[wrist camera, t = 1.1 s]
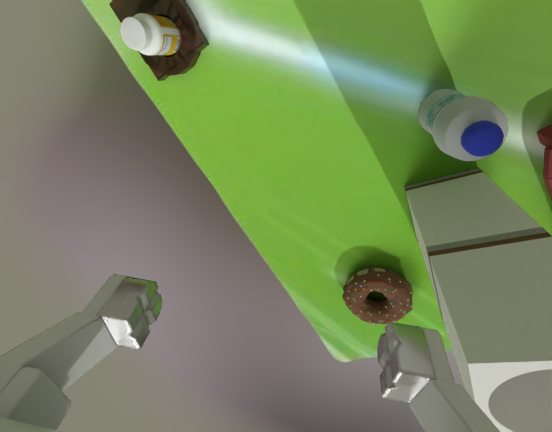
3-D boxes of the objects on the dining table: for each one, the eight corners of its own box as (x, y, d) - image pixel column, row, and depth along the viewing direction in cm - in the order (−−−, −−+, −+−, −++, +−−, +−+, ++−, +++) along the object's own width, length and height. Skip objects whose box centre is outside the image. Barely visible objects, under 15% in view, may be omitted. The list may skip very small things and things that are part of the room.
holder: (115, 6, 49) (108, 4, 48) (162, -43, 44) (155, -46, 43) (167, 87, 54) (161, 88, 52) (214, 50, 49) (209, 50, 47)
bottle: (405, 119, 47) (433, 156, 30) (433, 77, 44) (483, 92, 26) (442, 138, 47) (491, 186, 30) (473, 98, 44) (549, 126, 26)
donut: (364, 318, 69) (364, 336, 64) (332, 277, 65) (330, 292, 61) (425, 299, 62) (430, 317, 58) (393, 252, 59) (396, 267, 54)
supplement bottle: (150, 22, 49) (108, 16, 41) (178, 13, 47) (140, 5, 39) (162, 58, 51) (125, 59, 43) (189, 51, 50) (155, 50, 42)
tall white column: (415, 236, 56) (482, 443, 26) (404, 186, 52) (467, 363, 22) (485, 222, 52) (660, 452, 22) (478, 167, 48) (680, 356, 18)
